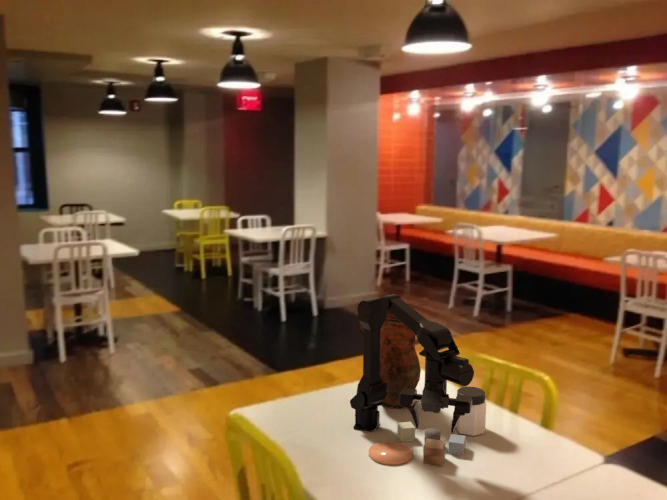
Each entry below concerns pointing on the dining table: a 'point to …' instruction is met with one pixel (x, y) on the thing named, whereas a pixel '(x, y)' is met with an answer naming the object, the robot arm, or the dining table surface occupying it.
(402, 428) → the sage cube
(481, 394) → the jar
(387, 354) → the pitcher
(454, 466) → the dining table surface
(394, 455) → the coaster
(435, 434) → the grey cylinder
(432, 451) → the walnut block
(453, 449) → the plastic brick
